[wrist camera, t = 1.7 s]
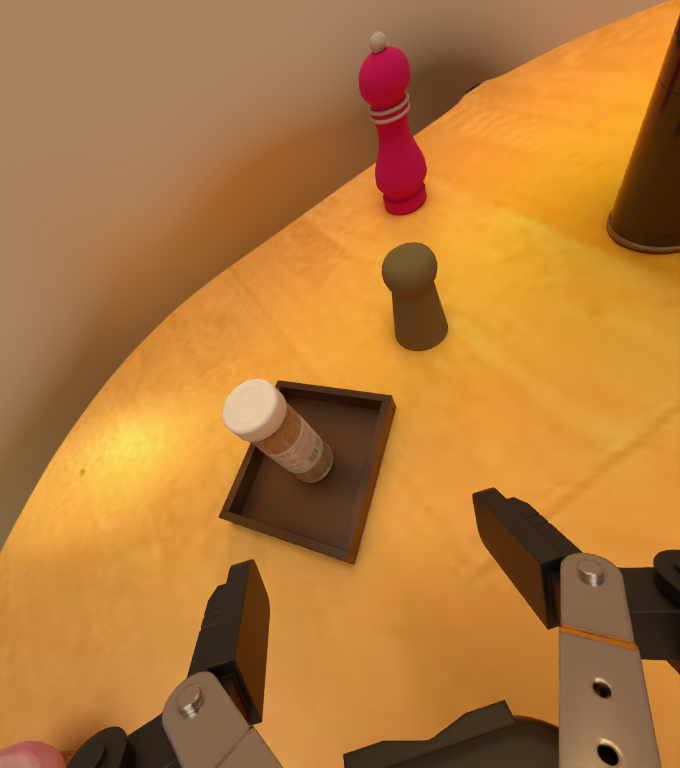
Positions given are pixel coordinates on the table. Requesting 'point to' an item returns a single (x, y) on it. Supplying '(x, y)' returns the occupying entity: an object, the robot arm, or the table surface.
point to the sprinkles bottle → (277, 430)
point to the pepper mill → (393, 127)
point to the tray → (331, 494)
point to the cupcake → (34, 756)
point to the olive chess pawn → (414, 296)
